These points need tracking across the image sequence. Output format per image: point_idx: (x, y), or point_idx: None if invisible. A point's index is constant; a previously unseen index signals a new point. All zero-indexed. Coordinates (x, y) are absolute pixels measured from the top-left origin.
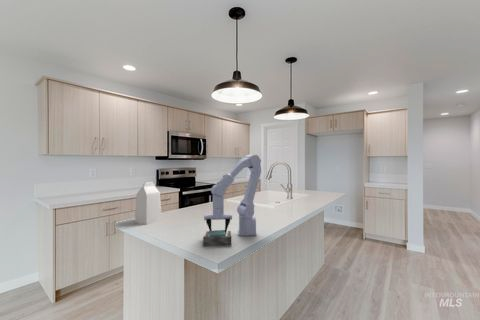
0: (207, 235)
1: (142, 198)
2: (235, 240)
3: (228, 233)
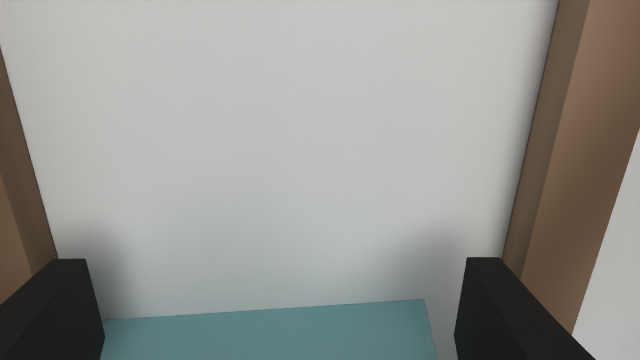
0: (3, 239)
1: None
2: (619, 355)
3: (570, 141)
